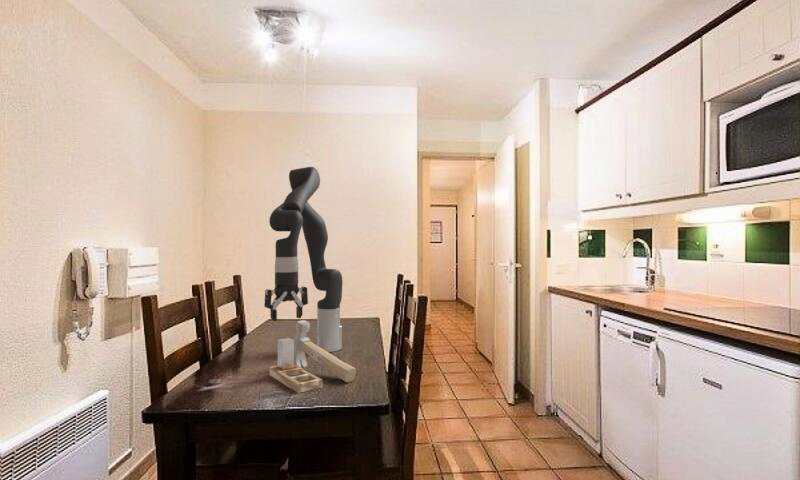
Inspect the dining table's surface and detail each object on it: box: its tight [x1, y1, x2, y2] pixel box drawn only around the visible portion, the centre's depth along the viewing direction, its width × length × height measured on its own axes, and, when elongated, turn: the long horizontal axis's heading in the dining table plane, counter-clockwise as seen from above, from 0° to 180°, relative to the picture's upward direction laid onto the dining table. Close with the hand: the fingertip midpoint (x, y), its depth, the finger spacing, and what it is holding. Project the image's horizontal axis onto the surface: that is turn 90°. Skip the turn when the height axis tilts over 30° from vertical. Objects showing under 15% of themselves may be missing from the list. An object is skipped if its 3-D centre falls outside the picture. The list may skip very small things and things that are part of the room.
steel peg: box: [277, 337, 295, 371], centre depth 149 cm, size 4×4×12 cm
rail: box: [269, 363, 324, 394], centre depth 144 cm, size 8×22×3 cm, turn 38°
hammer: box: [293, 319, 357, 383], centre depth 153 cm, size 16×5×30 cm
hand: (286, 319), depth 149 cm, fingers open, 8 cm apart
